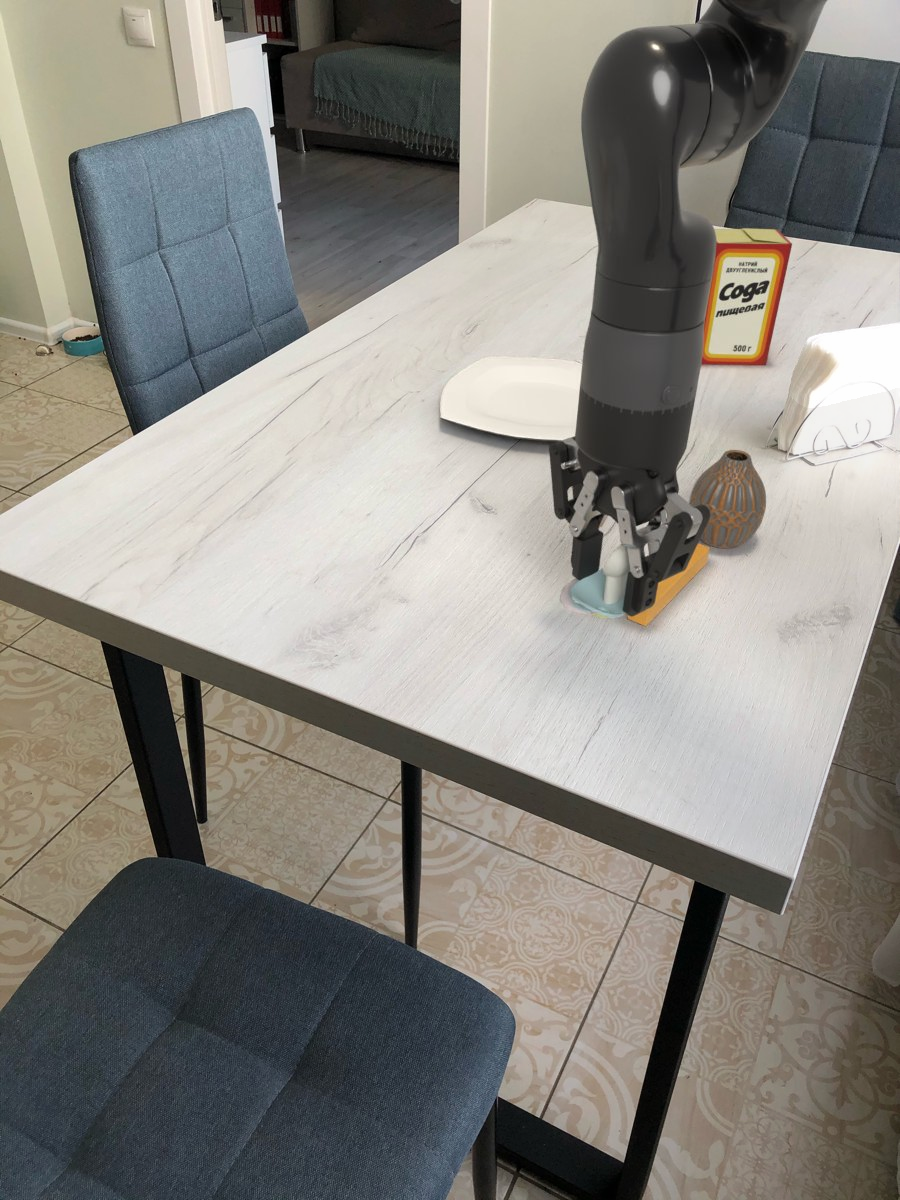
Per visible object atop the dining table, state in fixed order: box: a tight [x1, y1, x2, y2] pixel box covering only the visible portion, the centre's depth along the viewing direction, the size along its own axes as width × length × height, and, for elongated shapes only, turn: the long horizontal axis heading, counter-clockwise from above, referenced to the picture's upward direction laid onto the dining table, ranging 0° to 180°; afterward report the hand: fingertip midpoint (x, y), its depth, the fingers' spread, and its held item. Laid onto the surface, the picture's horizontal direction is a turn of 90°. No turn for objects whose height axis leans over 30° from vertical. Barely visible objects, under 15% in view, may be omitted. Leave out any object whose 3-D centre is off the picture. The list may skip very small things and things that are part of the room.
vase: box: [688, 449, 767, 549], centre depth 87 cm, size 7×7×9 cm
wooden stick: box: [627, 542, 711, 627], centre depth 82 cm, size 12×2×2 cm, turn 143°
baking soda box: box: [701, 227, 793, 366], centre depth 123 cm, size 10×6×16 cm
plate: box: [439, 356, 582, 442], centre depth 112 cm, size 23×23×2 cm
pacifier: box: [559, 543, 630, 619], centre depth 71 cm, size 7×6×6 cm
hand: (609, 591), depth 71 cm, fingers closed on pacifier, 5 cm apart
